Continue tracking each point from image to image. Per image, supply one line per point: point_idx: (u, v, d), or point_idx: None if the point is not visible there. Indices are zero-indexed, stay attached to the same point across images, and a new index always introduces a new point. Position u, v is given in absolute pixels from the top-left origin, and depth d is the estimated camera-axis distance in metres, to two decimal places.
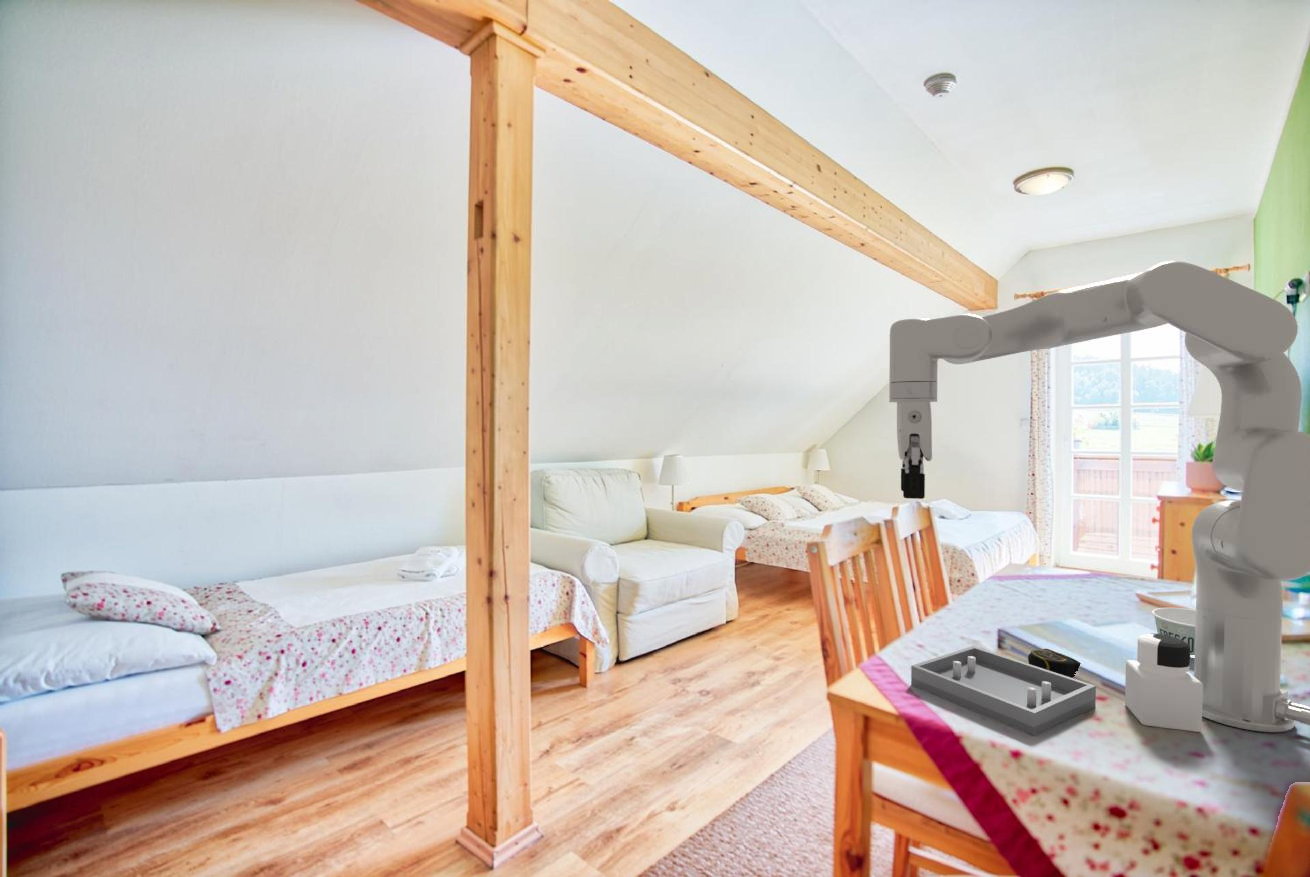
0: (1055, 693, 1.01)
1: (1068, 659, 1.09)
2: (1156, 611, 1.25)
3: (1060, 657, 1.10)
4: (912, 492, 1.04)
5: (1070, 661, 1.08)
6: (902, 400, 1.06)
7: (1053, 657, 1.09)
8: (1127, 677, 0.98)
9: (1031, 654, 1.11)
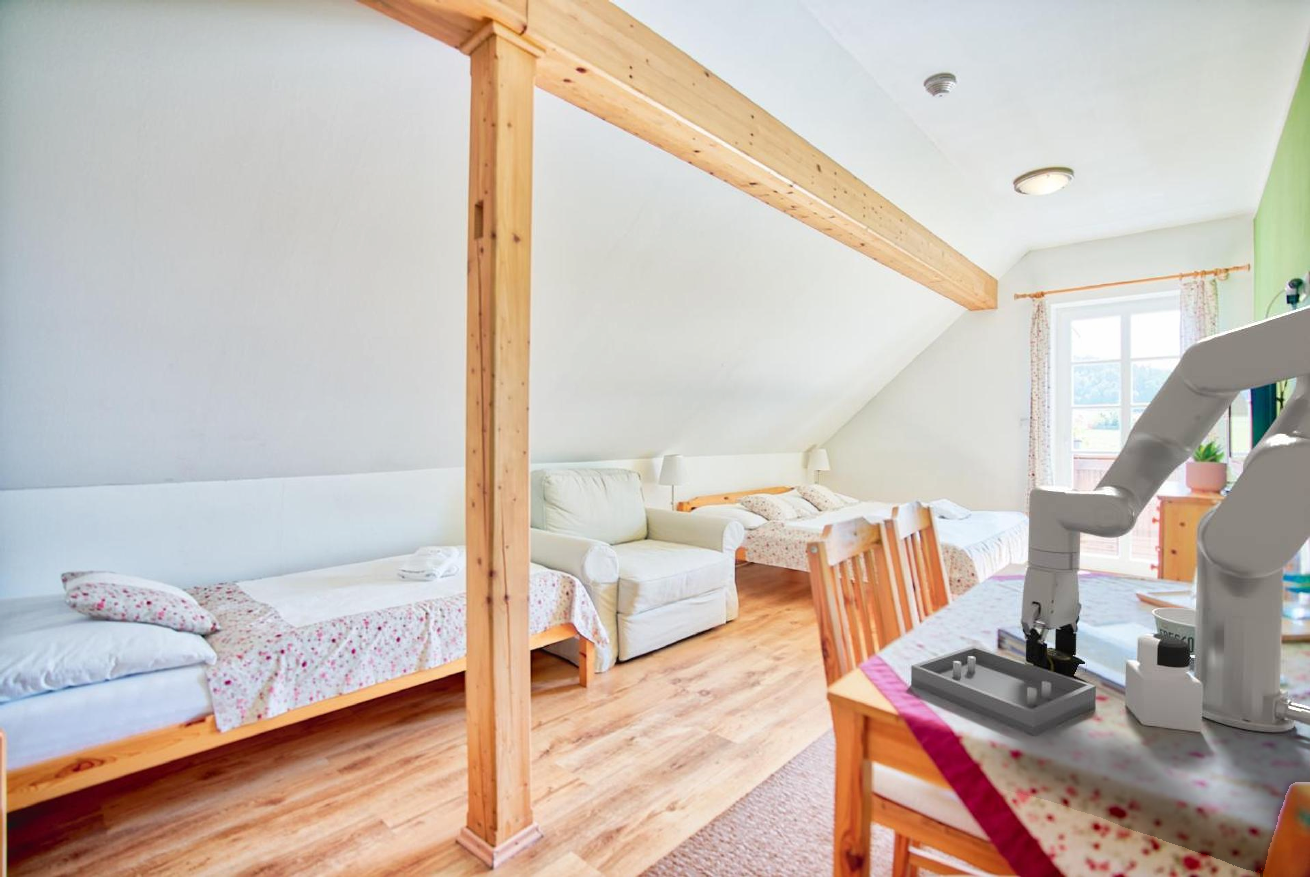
0: (1055, 693, 1.01)
1: (1072, 658, 1.09)
2: (1156, 611, 1.25)
3: (1064, 656, 1.10)
4: None
5: (1074, 659, 1.09)
6: None
7: (1057, 656, 1.10)
8: (1127, 677, 0.98)
9: None
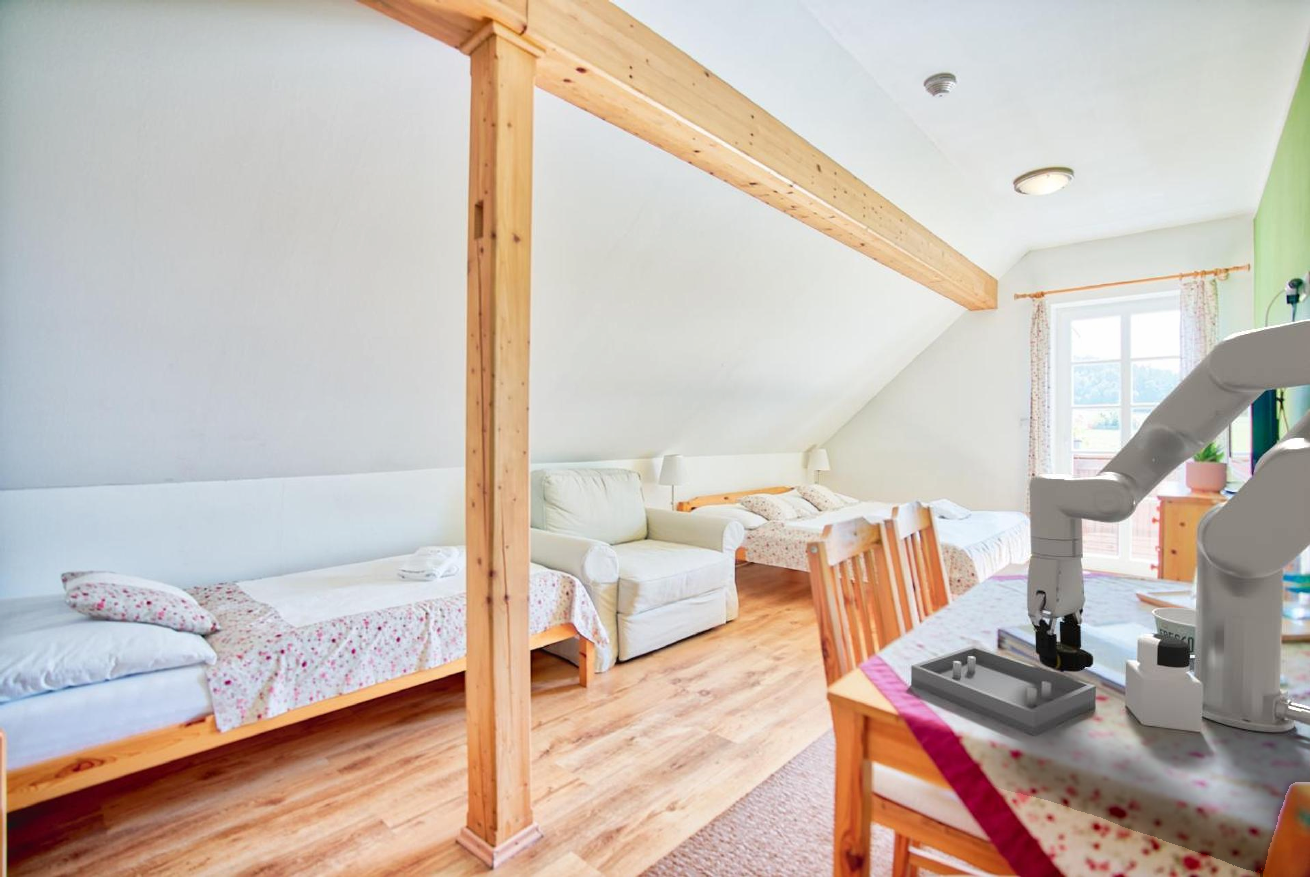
0: (1055, 693, 1.01)
1: (1079, 650, 1.08)
2: (1156, 611, 1.25)
3: (1070, 649, 1.09)
4: None
5: (1081, 652, 1.07)
6: None
7: (1063, 649, 1.09)
8: (1127, 677, 0.98)
9: None
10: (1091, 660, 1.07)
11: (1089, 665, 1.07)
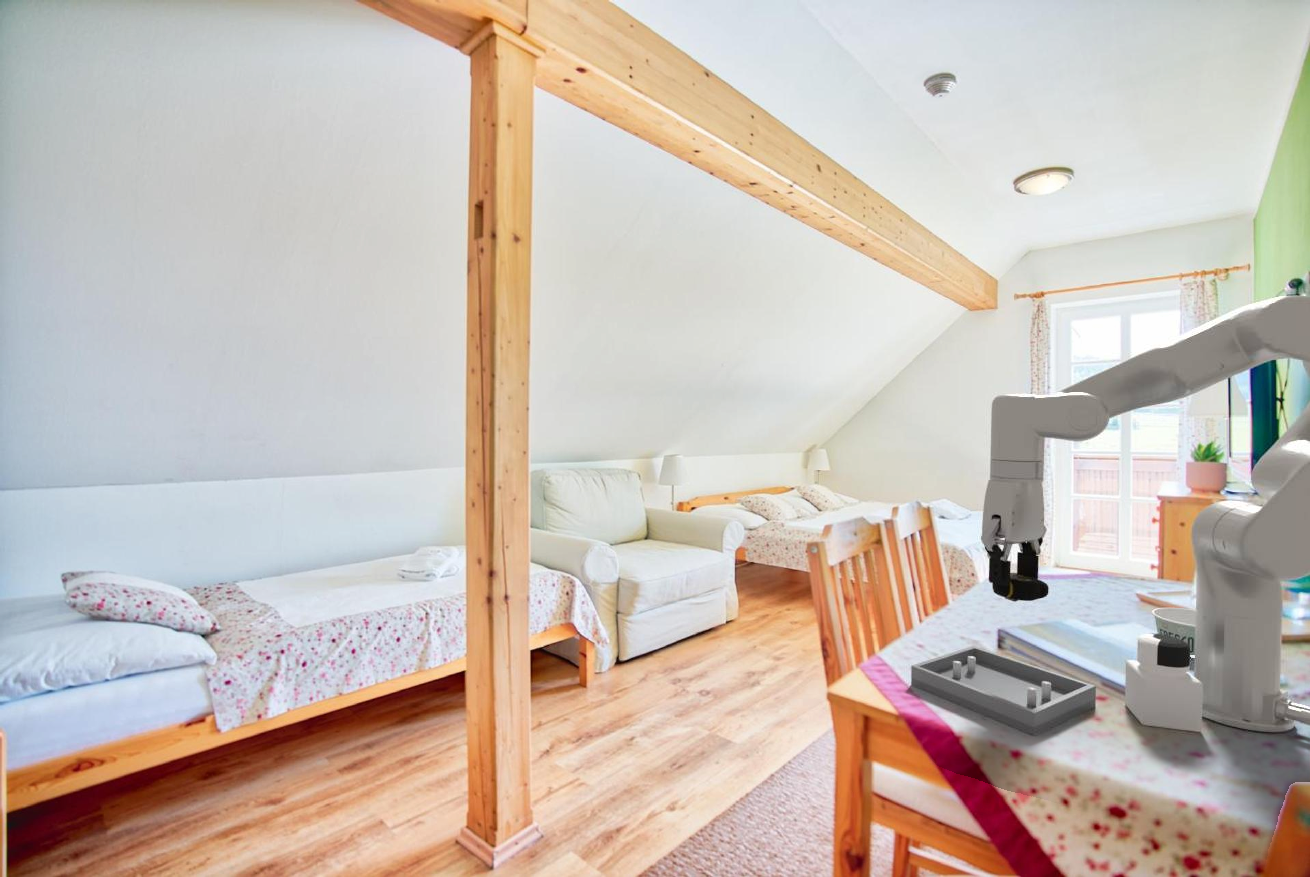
0: (1055, 693, 1.01)
1: (1033, 579, 1.02)
2: (1156, 611, 1.25)
3: (1025, 578, 1.03)
4: None
5: (1035, 581, 1.02)
6: None
7: (1017, 578, 1.03)
8: (1127, 677, 0.98)
9: None
10: (1046, 590, 1.01)
11: (1043, 595, 1.01)
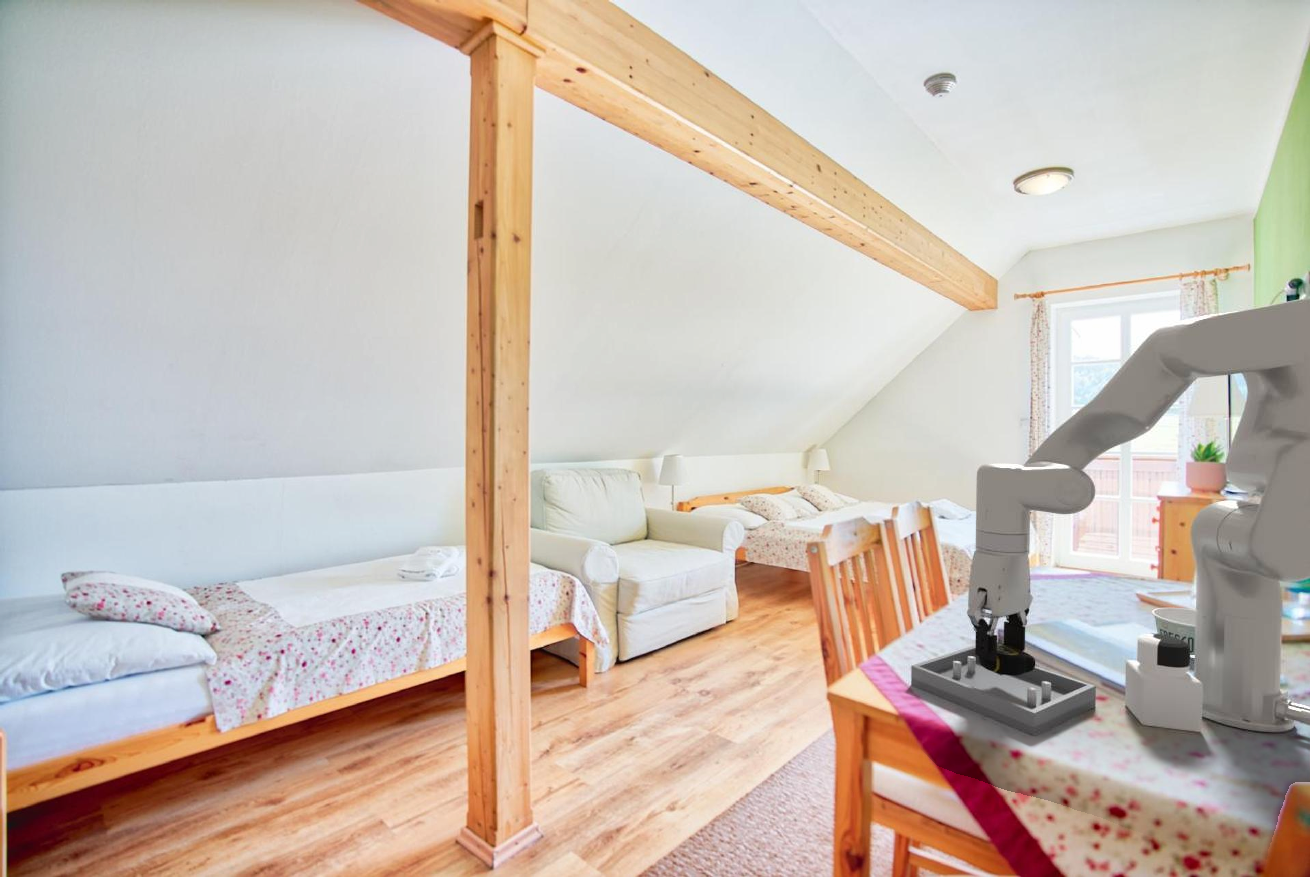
0: (1055, 693, 1.01)
1: (1020, 653, 1.01)
2: (1156, 611, 1.25)
3: (1012, 651, 1.02)
4: None
5: (1022, 655, 1.00)
6: None
7: (1004, 651, 1.01)
8: (1127, 677, 0.98)
9: None
10: (1033, 664, 1.00)
11: (1030, 669, 1.00)
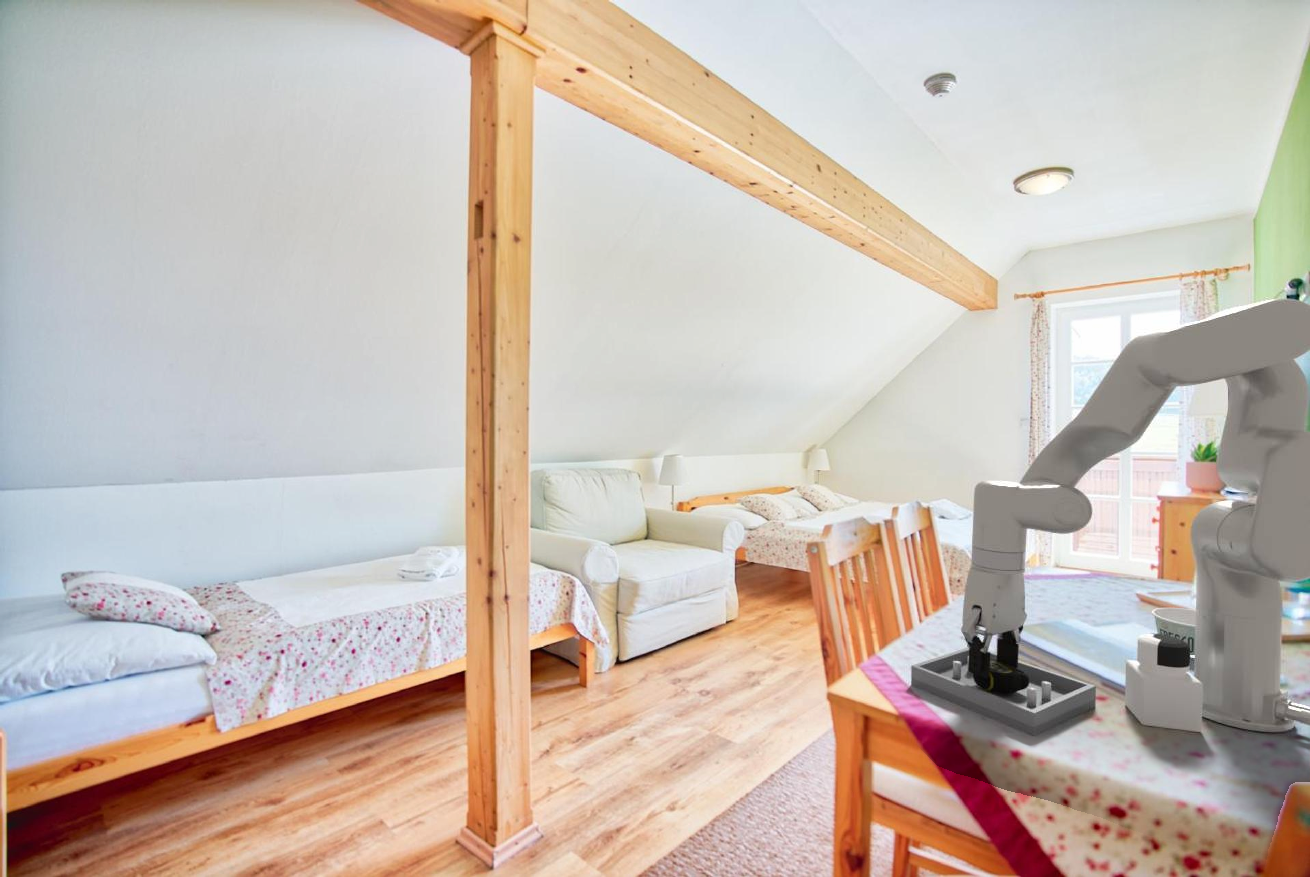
0: (1055, 693, 1.01)
1: (1014, 671, 1.00)
2: (1156, 611, 1.25)
3: (1006, 668, 1.02)
4: None
5: (1016, 673, 1.00)
6: None
7: (998, 669, 1.01)
8: (1127, 677, 0.98)
9: None
10: (1026, 681, 1.00)
11: (1024, 687, 1.00)
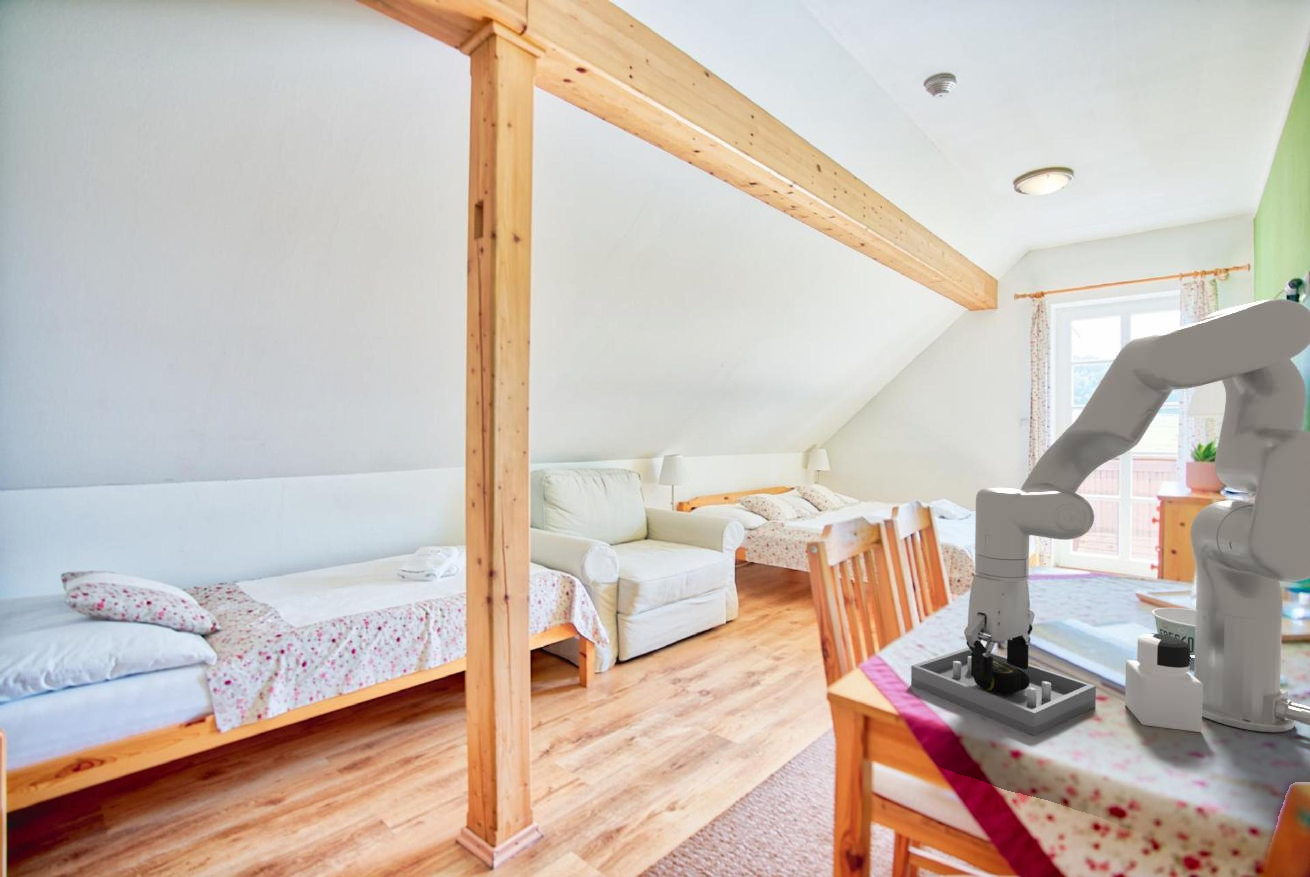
0: (1055, 693, 1.01)
1: (1014, 671, 1.01)
2: (1156, 611, 1.25)
3: (1006, 668, 1.02)
4: None
5: (1016, 673, 1.00)
6: None
7: (998, 669, 1.01)
8: (1127, 677, 0.98)
9: None
10: (1027, 681, 1.00)
11: (1025, 687, 1.00)
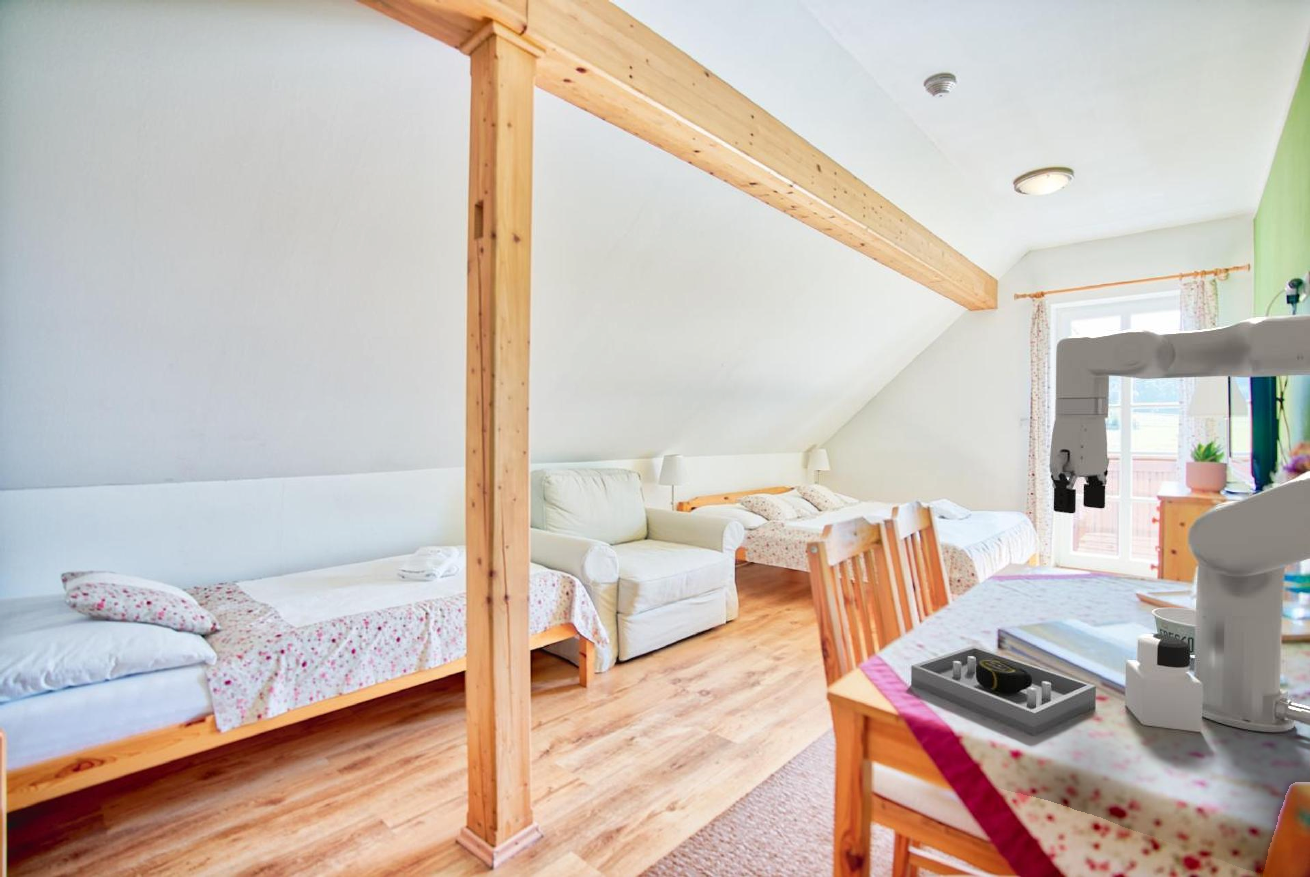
0: (1055, 693, 1.01)
1: (1017, 670, 1.01)
2: (1156, 611, 1.25)
3: (1009, 668, 1.02)
4: None
5: (1019, 672, 1.00)
6: None
7: (1001, 668, 1.01)
8: (1127, 677, 0.98)
9: (978, 665, 1.03)
10: (1029, 681, 1.00)
11: (1027, 686, 1.00)
